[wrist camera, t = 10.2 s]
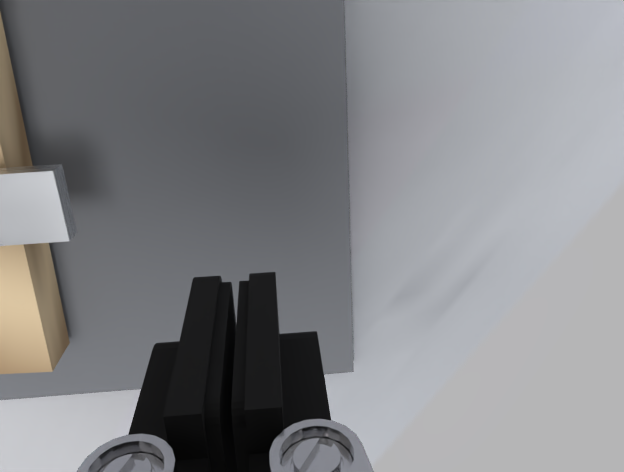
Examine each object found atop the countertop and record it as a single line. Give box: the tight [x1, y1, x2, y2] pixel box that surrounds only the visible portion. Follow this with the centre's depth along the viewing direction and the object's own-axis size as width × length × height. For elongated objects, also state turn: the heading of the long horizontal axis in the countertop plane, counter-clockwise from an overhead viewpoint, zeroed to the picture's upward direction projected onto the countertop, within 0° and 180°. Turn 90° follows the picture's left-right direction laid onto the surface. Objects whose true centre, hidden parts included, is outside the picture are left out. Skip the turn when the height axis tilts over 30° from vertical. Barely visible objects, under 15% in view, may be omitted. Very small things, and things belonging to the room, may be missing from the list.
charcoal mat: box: [0, 0, 354, 400], centre depth 22 cm, size 20×18×1 cm
